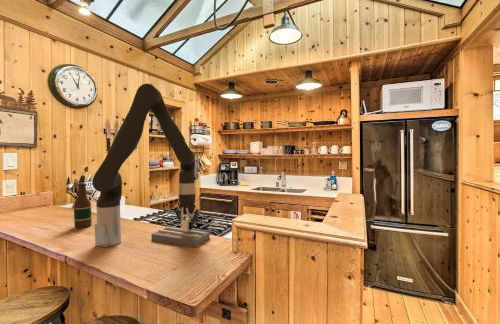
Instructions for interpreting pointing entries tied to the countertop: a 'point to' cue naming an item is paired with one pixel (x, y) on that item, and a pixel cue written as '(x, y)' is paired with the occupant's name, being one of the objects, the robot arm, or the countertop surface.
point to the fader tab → (185, 226)
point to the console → (181, 236)
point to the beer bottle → (82, 208)
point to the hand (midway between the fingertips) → (187, 228)
